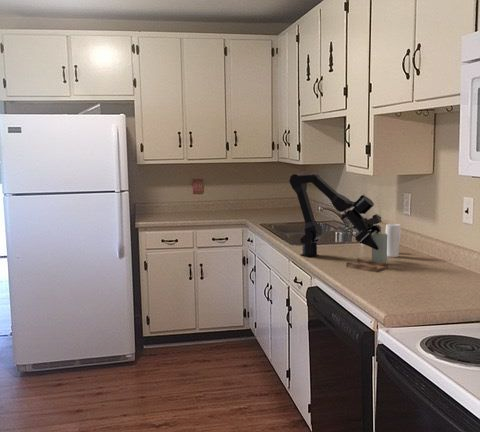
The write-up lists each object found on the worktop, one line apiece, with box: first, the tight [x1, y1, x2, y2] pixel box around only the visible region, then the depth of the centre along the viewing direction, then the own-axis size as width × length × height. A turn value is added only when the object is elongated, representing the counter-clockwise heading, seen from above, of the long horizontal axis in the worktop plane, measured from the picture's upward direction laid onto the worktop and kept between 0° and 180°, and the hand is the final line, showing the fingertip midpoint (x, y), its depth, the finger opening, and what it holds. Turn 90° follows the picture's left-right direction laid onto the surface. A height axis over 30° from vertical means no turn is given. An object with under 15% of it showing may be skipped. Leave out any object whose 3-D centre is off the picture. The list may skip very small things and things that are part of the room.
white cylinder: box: [385, 223, 402, 258], centre depth 253 cm, size 7×7×15 cm
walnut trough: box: [345, 258, 388, 273], centre depth 232 cm, size 14×10×2 cm
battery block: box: [371, 231, 388, 263], centre depth 238 cm, size 5×5×14 cm
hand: (381, 247), depth 238 cm, fingers open, 9 cm apart
